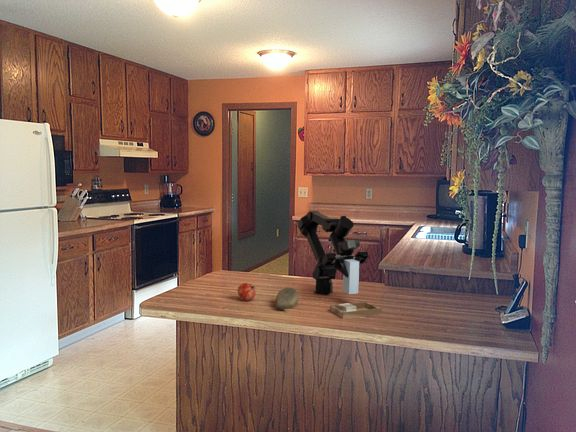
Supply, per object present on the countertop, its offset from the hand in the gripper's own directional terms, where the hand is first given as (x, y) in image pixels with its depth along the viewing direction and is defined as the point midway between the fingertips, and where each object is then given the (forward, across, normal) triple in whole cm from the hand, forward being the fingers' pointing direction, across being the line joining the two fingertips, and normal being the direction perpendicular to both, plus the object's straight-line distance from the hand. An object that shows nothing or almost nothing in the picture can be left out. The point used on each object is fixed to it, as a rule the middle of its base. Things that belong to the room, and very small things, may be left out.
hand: (352, 276), depth 185 cm
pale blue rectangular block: (+4, 0, +6) cm, 7 cm away
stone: (+2, -23, +16) cm, 28 cm away
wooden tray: (+15, -4, +2) cm, 16 cm away
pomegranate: (-8, -36, +26) cm, 45 cm away
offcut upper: (+13, -7, +1) cm, 15 cm away
